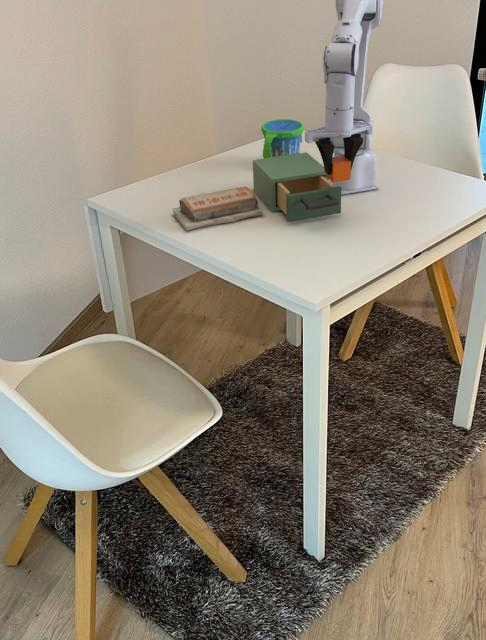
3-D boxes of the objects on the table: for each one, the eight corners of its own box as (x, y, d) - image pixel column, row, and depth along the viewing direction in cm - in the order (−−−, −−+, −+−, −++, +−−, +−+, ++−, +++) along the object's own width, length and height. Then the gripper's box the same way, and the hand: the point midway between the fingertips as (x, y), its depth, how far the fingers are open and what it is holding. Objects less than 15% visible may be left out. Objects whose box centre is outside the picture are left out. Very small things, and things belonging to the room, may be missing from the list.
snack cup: (280, 177, 181) (279, 137, 175) (248, 169, 186) (246, 129, 181) (317, 160, 191) (317, 120, 185) (285, 152, 196) (285, 114, 191)
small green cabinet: (328, 202, 167) (328, 170, 163) (272, 212, 164) (271, 179, 159) (306, 182, 178) (306, 152, 173) (253, 190, 174) (252, 159, 170)
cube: (342, 173, 157) (343, 155, 155) (350, 179, 154) (351, 161, 152) (325, 176, 156) (325, 158, 154) (333, 182, 153) (333, 164, 151)
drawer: (349, 221, 156) (350, 195, 153) (296, 230, 153) (296, 204, 150) (319, 193, 170) (319, 169, 166) (269, 201, 166) (268, 176, 163)
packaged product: (244, 180, 167) (262, 195, 159) (245, 200, 169) (262, 216, 162) (169, 194, 161) (184, 210, 153) (172, 215, 163) (186, 232, 156)
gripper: (314, 116, 142) (313, 183, 150) (380, 107, 146) (376, 172, 153) (300, 107, 147) (300, 171, 155) (365, 98, 151) (362, 162, 159)
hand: (337, 171), depth 155 cm, fingers closed on cube, 4 cm apart
